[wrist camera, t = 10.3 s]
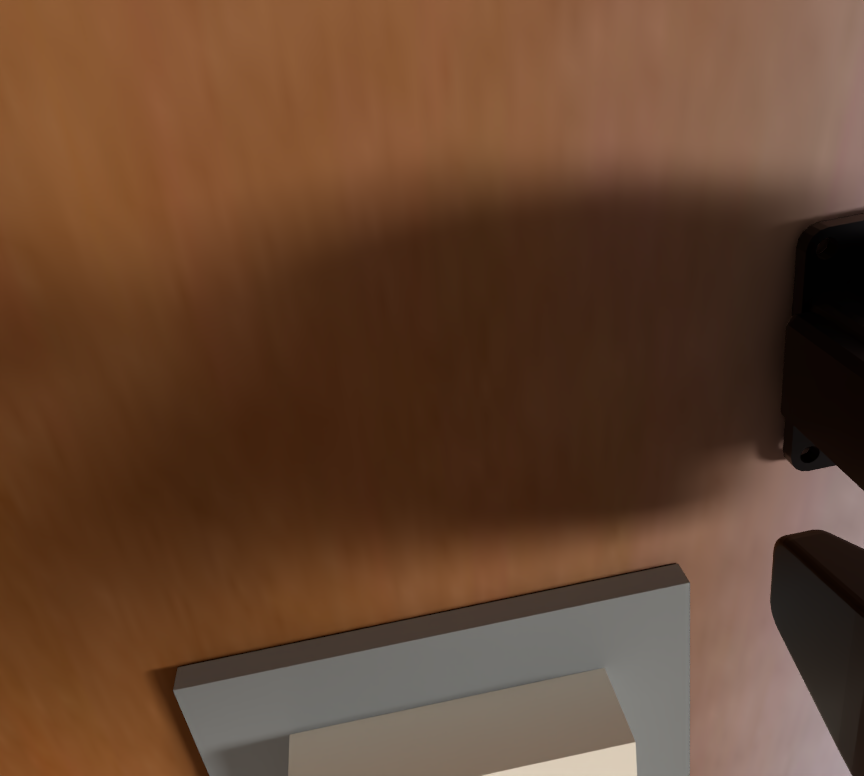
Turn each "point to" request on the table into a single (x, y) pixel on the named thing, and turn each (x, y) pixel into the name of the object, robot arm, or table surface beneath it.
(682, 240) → the table surface
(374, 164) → the table surface
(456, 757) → the socket
